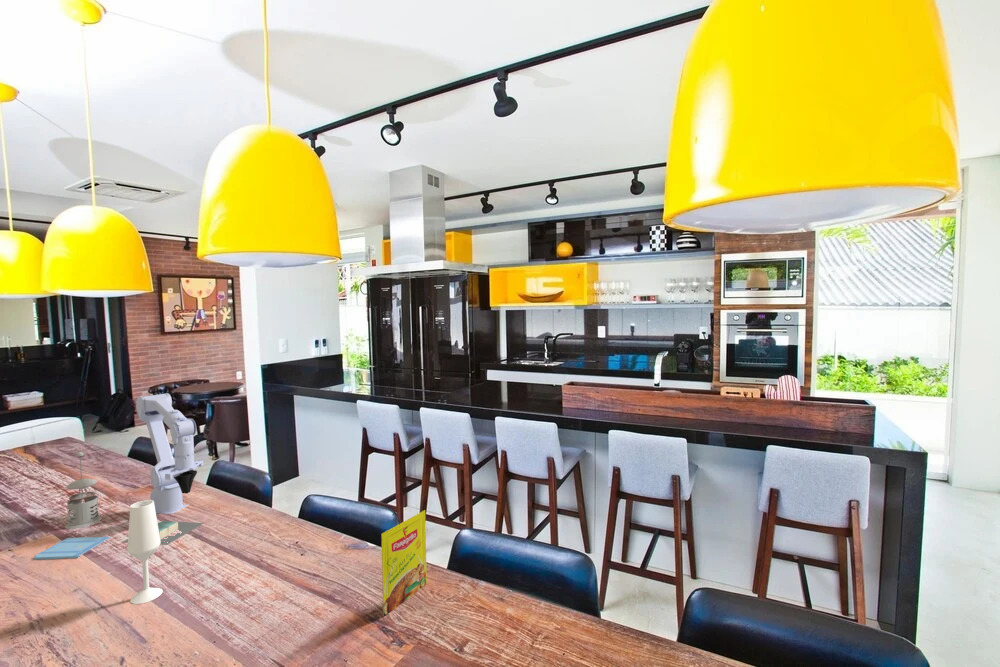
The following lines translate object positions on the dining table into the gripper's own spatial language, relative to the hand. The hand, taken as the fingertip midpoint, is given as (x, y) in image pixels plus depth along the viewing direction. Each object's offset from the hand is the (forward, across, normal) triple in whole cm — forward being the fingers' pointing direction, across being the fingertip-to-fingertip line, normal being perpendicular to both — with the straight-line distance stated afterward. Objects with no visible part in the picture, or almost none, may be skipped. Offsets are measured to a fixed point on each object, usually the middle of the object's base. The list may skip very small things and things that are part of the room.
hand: (186, 492), depth 163 cm
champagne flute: (+10, -42, -26) cm, 50 cm away
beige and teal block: (+8, -9, -2) cm, 12 cm away
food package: (+10, -36, -93) cm, 100 cm away
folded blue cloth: (+10, -23, +19) cm, 31 cm away
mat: (+9, -11, -2) cm, 15 cm away
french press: (+10, -6, +35) cm, 37 cm away
